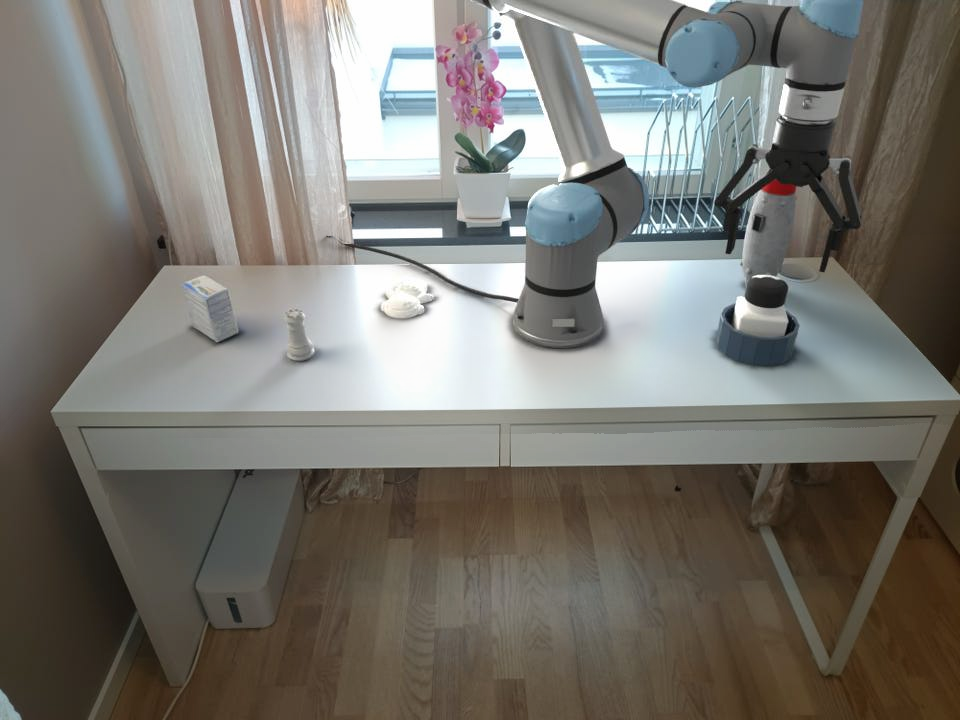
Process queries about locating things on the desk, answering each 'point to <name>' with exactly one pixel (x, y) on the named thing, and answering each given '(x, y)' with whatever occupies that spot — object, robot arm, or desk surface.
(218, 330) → the medicine box
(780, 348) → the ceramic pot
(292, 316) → the rook chess piece
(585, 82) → the robot arm
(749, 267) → the toy rocket
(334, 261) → the desk surface
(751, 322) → the medicine bottle
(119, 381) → the desk surface
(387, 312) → the astronaut figurine
